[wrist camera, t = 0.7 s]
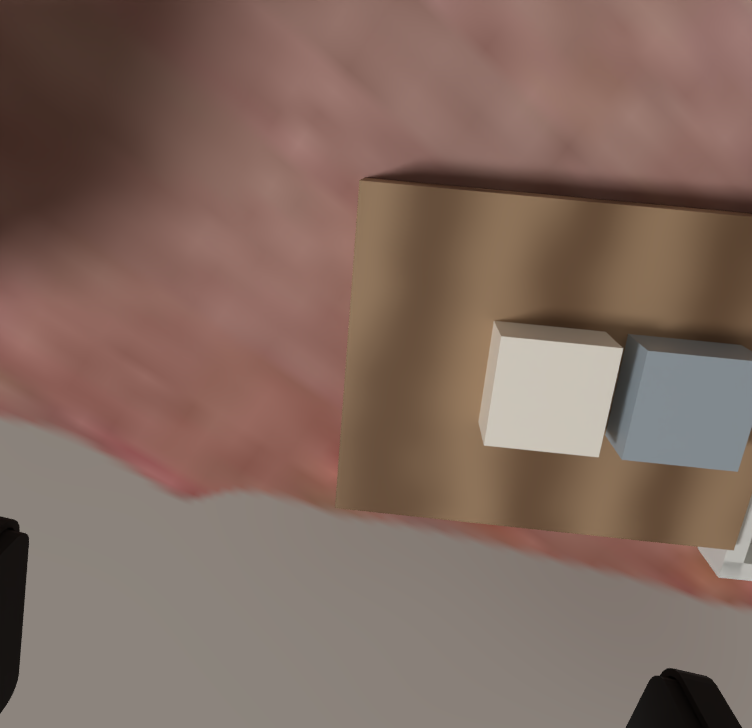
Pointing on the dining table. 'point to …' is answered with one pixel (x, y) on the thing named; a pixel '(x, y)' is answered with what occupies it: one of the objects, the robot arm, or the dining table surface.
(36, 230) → the dining table surface
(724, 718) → the robot arm
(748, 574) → the box
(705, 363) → the slate tile
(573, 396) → the cream tile
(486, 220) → the tan wooden board
